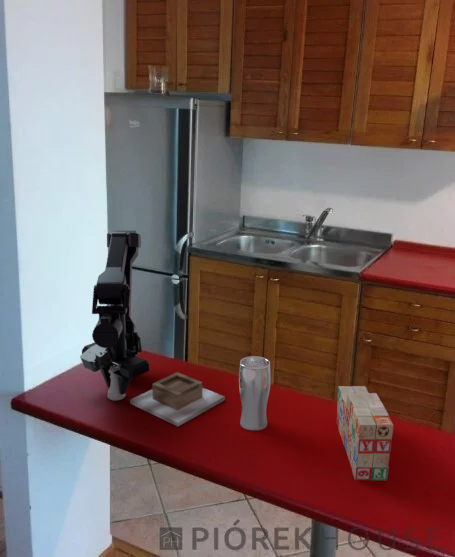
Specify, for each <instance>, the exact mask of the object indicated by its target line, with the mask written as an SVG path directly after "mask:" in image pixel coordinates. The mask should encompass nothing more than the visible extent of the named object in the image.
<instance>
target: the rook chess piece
mask: <svg viewBox="0 0 455 557" xmlns="http://www.w3.org/2000/svg"><path fill="white" fill-rule="evenodd" d="M119 367H120V366H119V365H117V367H115V365H113V367H112V366H110V369H109V373H110V374H111V376H110V378H111V384H110V387H109V388H108V390H107V398H108V399H109V400H110V401H114V402H117V401H122V400H123V399H124V398H125V397H126V395H127V394H126V393H125V394H123V395H121V394H120V390H119V382H118V376H117V375H115V374H114V373H113V372H115V371H118V370H119Z"/></svg>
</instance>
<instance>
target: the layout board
mask: <svg viewBox="0 0 455 557" xmlns="http://www.w3.org/2000/svg"><path fill="white" fill-rule="evenodd" d="M151 386H152V387H151V389H150V390H148V391H146V392H144V393H141V394H139V395H137V396H135V397H133V398H131V399H129V401H130V402H129V403H130V405H132V406H135V407H136V408H139V409H140V410H143V411H144V412H146V413H149V414H150V415H153V416H155V417H157V418H159V419H162V420H164V421H165V422H168V423H169V424H172V425H174V426H175V427H180V426H181V425H183V424H186V423H187V422H190V420H192V419H195V417H198V416H199V415H202V413H204V412H205V413H206V412H207V411H208V410H210V409H211V408H213V407H215V406H217V405H219V404H221V403H222V402H224V401H225V399H226V398H225V395H222V394H220V393H217V392H215V391H212V390H209V389H207V388H204V387H203V381H200V380H198V379H195V378H193V377H191V376H188V375H185V374H182V373H181V372H178V371H177V372H175V373H172V374H171V375H169V376H166V377H164V378H161V379H160V380H157V381H156V382H153V383H152V385H151Z"/></svg>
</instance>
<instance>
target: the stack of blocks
mask: <svg viewBox="0 0 455 557" xmlns="http://www.w3.org/2000/svg"><path fill="white" fill-rule="evenodd" d="M336 405H337V406H336V407H337V408H336V411H337V413H336V425H337V427H338V432H339V435H340V437H341V440H342V444H343V446H344V449H345V453H346V455H347V458H348V461H349V465H350V467H351V471H352V472H351V473H352V475H353V478H354V480H355V481H388V475H389V469H390V468H389V464H390V456H391V450H392V439H393V430H394V424H393V422H392V420H391V418H390V415H389V412H388V411H387V410H386V408H385V406H384V404H383V402H382V401H381V399H380V397H379V395H378V394H377V392H371V393H370V392H369V390H368V388H367V387H366V386H365V385H361V386H360V385H357V386H355V385H352V386H346V385H345V386H343V385H341V386H340V385H339V386H337V404H336Z"/></svg>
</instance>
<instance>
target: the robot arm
mask: <svg viewBox="0 0 455 557" xmlns="http://www.w3.org/2000/svg"><path fill="white" fill-rule="evenodd" d="M141 246H142V237H141V234H139V233H137V230H112V231H111V232H108V233H106V247H107V248H108V253H107V258H106V264H105V269H104V270H103V272H101V273H100V274H99V275H98V277H97V281H96V284H94V285H93V293H92V294H93V295H92V305H91V306H92V307H91V308H92V309H91V314H92V315H98V321H97V323H96V324H95V326H94V329H93V330H92V334H91V337H92V340H93V342H92V343H90V344H86V345H84V347H83V348H81V355H80V356H79V357H80V361H81V363H82V365H83V367H84V369H88V370H90V371H91V372H94V373H95V372H98V371H100V372H101V375H102V377H103V379H104V382H105V384H106V387H107V389H109V387H110V384H111V378H110V376H111V374H110V373H109V369H110V366H112V367H113V365H115V367H117V365H119V366H120V367H119V370H118V371H115V372H113V373H114V374H115V375H117V376H118V382H119V390H120V394H121V395H123V394H126V392H127V390H128V387H129V385H130V383H131V380H132V379H134V378H137V377H138V376H141V375H143V374H145V373H148V372H150V362H149V361H148V360H147V359H144V358H142V357H139V356H137V355H139V354H141V353H142V352H143V344H142V343H143V342H142V338H141V337H140V335H139V332H137V325H136V324H135V322H134V321H133V319H132V317H131V315H132V284H133V283H132V282H133V263H134V262H135V261H136V259H137V258H138V256H139V249H140V248H141ZM98 304H99V305H98Z"/></svg>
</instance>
